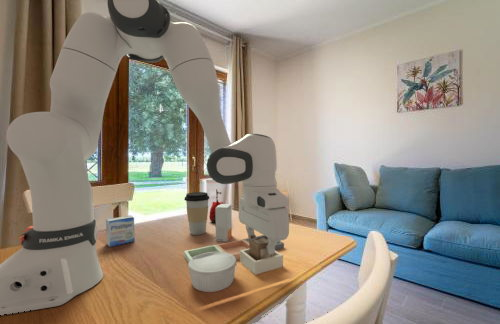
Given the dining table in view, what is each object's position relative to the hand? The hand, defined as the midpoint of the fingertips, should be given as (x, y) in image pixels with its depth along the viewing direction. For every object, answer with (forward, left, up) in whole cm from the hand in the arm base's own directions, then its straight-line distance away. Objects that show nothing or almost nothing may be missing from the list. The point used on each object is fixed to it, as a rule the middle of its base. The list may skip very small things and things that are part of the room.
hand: (260, 246), depth 64 cm
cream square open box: (0, 0, -5) cm, 5 cm away
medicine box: (-33, +38, -5) cm, 51 cm away
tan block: (0, 0, -5) cm, 5 cm away
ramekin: (-14, -2, -5) cm, 15 cm away
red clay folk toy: (+5, +45, -5) cm, 46 cm away
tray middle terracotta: (-2, +10, -5) cm, 12 cm away
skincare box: (-1, +23, -5) cm, 24 cm away
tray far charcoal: (+7, +10, -5) cm, 14 cm away
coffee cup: (-7, +35, -5) cm, 37 cm away
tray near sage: (-12, +10, -5) cm, 17 cm away
